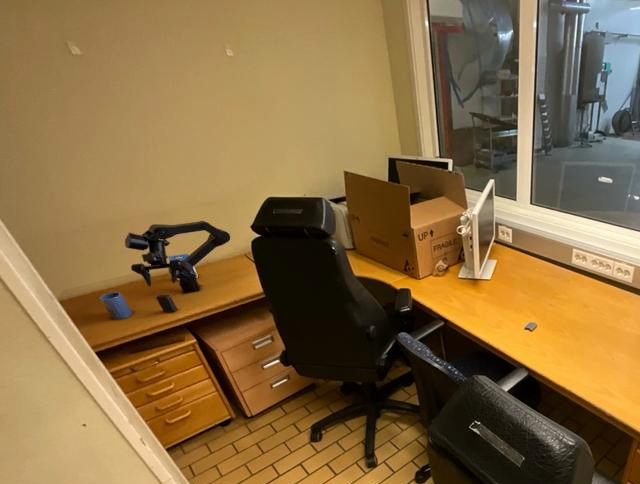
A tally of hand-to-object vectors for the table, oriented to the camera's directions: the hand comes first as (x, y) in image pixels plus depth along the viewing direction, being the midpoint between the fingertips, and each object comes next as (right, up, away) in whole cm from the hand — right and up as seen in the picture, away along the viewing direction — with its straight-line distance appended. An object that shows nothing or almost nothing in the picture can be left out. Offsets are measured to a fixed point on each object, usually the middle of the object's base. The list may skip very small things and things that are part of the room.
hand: (161, 284), depth 177 cm
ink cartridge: (+2, -12, +3) cm, 12 cm away
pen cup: (-17, -14, -1) cm, 22 cm away
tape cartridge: (-12, +8, +30) cm, 33 cm away
